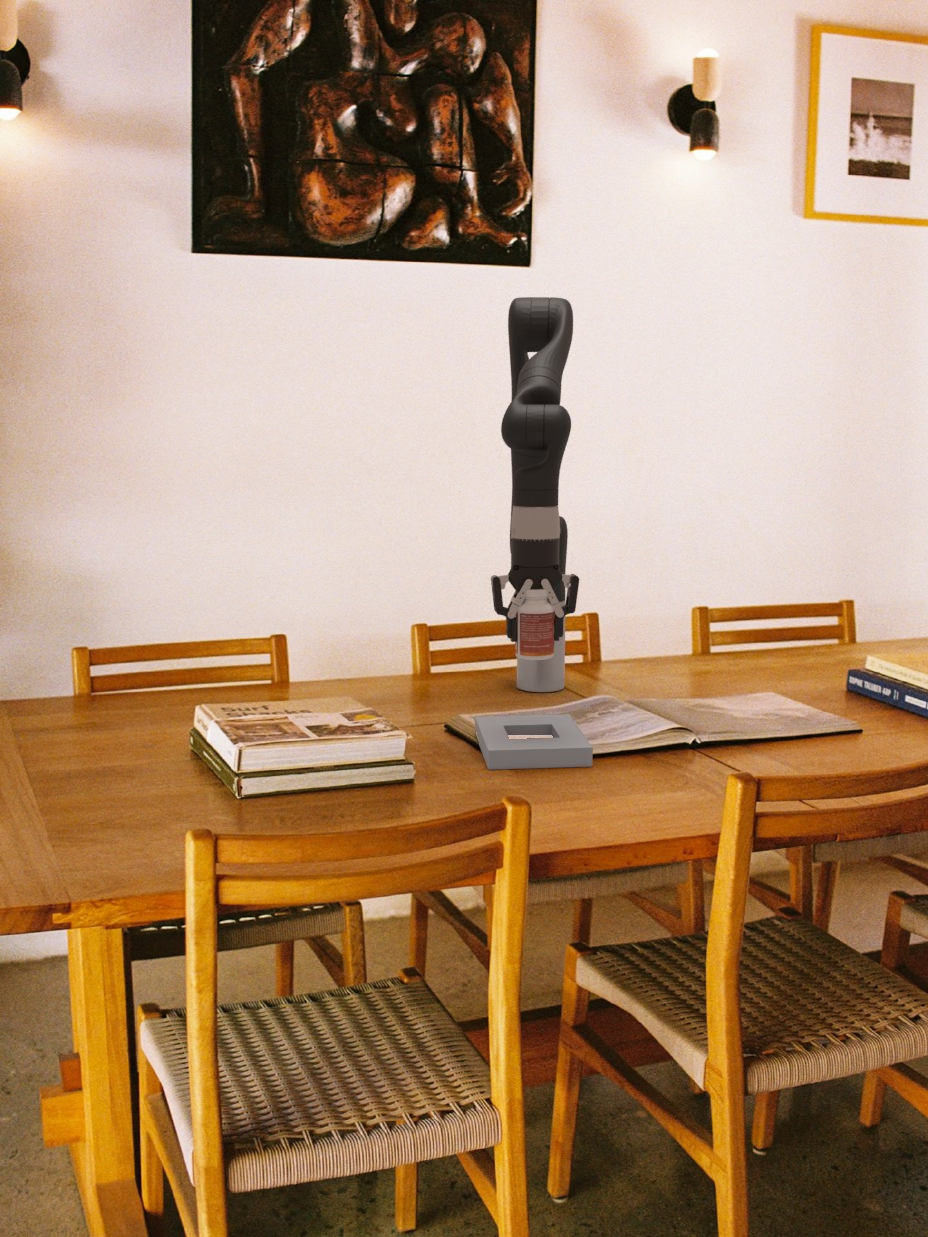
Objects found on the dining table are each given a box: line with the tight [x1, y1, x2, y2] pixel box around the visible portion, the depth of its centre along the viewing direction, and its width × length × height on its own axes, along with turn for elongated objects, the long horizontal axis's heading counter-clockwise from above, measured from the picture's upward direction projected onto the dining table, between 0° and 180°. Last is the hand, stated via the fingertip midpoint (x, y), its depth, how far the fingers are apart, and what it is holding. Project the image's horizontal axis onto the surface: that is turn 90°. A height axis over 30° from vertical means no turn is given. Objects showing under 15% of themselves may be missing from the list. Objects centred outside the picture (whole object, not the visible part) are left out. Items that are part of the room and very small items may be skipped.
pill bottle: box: [514, 589, 554, 660], centre depth 197 cm, size 6×6×11 cm
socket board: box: [474, 713, 594, 770], centre depth 200 cm, size 20×16×3 cm
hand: (534, 640), depth 197 cm, fingers closed on pill bottle, 6 cm apart
